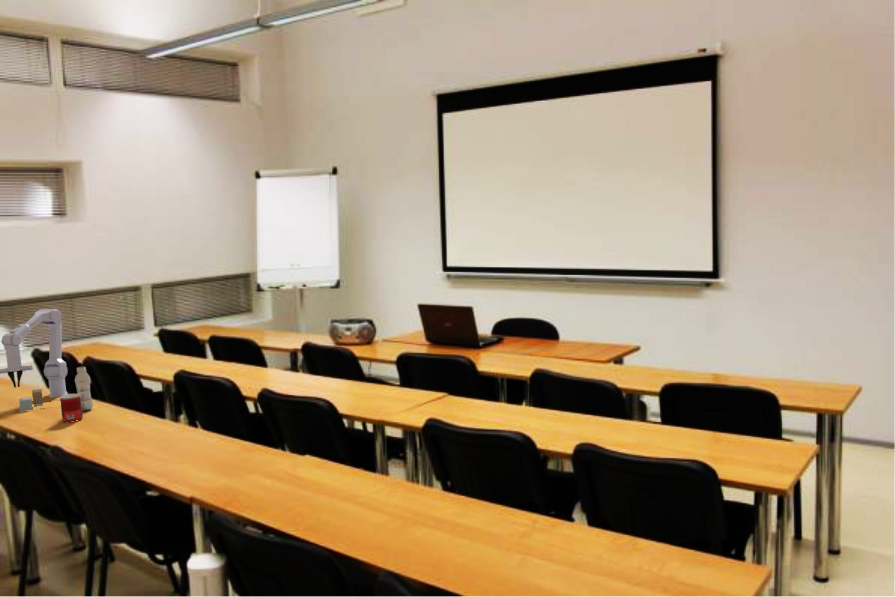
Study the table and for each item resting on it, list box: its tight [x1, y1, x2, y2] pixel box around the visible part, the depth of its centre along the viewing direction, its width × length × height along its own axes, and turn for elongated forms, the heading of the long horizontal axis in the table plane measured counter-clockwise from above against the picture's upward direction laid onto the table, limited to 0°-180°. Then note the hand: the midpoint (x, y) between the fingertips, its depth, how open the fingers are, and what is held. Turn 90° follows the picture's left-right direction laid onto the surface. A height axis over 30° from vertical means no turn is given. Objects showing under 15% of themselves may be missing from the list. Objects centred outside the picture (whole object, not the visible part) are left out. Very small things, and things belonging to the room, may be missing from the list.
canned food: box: [59, 393, 83, 423], centre depth 333 cm, size 8×8×11 cm
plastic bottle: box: [74, 366, 94, 412], centre depth 349 cm, size 6×7×20 cm
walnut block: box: [31, 388, 44, 407], centre depth 364 cm, size 6×4×7 cm, turn 29°
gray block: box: [18, 396, 34, 412], centre depth 356 cm, size 5×5×5 cm
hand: (16, 386), depth 359 cm, fingers closed
